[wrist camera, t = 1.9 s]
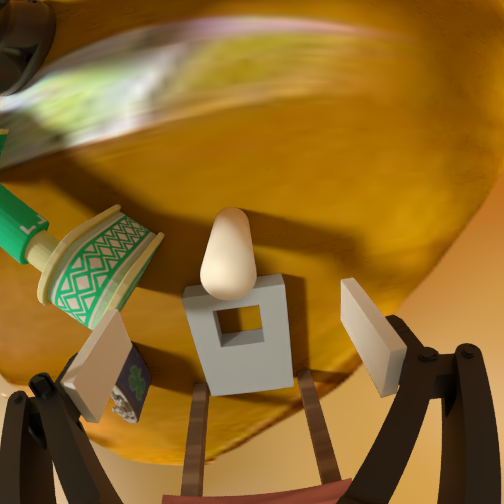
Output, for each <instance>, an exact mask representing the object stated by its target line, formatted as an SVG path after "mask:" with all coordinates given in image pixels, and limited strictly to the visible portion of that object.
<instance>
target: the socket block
mask: <svg viewBox="0 0 504 504" xmlns="http://www.w3.org/2000/svg"><path fill="white" fill-rule="evenodd" d="M182 301H183V305H184V308H185V312H186V315H187V319H188V322H189V326H190V329H191V333H192V336H193V339H194V343H195V346H196V349H197V352H198V355H199V359H200V362H201V365H202V368H203V371H204V374H205V377H206V380H207V383H208V386H209V389H210V392H211V395H212V396H219V395H230V394H240V393H249V392H257V391H265V390H272V389H279V388H285V387H292V386H293V372H292V360H291V348H290V336H289V325H288V314H287V303H286V293H285V284H284V281H283V277H282V274H281V273H279V274H273V275H266V276H259V277H257V278H256V282H255V285H254V287H253V289H252V290H251V291H250V292H249V293H248V294H247V295H246V296H244V297H242V298H240V299H237V300H230V301H227V300H221V299H218V298H215V297H214V296H212V295H211V294H209V293H208V292H207V291H206V289H205V288H204V287H203V285H202V284H201V285H194V286H186V287H185V290H184V293H183V296H182ZM254 305H259V307H260V313H261V320H262V327H263V329H256V330H249V331H241V332H233V333H225V334H222V332H221V328H220V324H219V320H218V315H217V311H216V310H224V309H232V308H239V307H246V306H254Z"/></svg>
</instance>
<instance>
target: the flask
mask: <svg viewBox="0 0 504 504" xmlns="http://www.w3.org/2000/svg"><path fill="white" fill-rule="evenodd" d="M150 384H151V375H150V371H149V369H148V367H147V364H146V363H145V362H144V359H143V358H142V356H141V354H140V353H139V351H138V349H137V348H136V346H134V344H133V343H132V348H131V350H130V352H129V354H128V356H127V359H126V361H125V363H124V365H123V367H122V370H121V372H120V374H119V376H118V379H117V381H116V383H115V386H114V388H113V390H112V393H111V395H110V396H111V397H112V399H113V400H114V402H115V403H116V405H115V407H116V408H114V407H113V408H112V410H113V413H115V411H117V412H118V414H119V415H120V416H122V417H123V419H124V420H125V421H127V422H129V423H137V422H138V421H139V417H140V414H141V410H142V407H143V404H144V401H145V398H146V395H147V392H148V388H149V386H150Z"/></svg>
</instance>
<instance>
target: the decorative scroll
mask: <svg viewBox="0 0 504 504" xmlns="http://www.w3.org/2000/svg"><path fill="white" fill-rule="evenodd" d="M8 131H9V130H8V129H7V128H2V129H0V154H1V151H2V148H3V145H4V142H5V139H6V136H7V134H8ZM120 209H121V206H120V205H118V204H116V205H114V206H112V207H111V208H109V209H107V210H105V211H103V212H102V213H100V214H98V215H97V216H95V217H93V218H91V219H90V220H88V221H86V222H85V223H83V224H81V225H80V226H78V227H76V228H75V229H73V230H72V231H71V232H70V233H68V234H67V235H66V237H65V238H64V239H63V240H62V241H59V240H58V239H57V238H55V237H54V236H53V235H51V234H50V233H49V232H47V229H48V226H49V222H48V221H47V220H45V219H44V218H43V217H42V216H40V215H39V214H38V213H36V212H35V211H34V210H32V209H31V208H30V207H29V206H27V205H26V204H25V203H23V202H22V201H21V200H20V199H18V198H17V197H16V196H15V195H13V194H12V193H11V192H10V191H9V190H7V189H6V188H5V187H4V186H3V185H1V184H0V247H2V248H3V249H4V250H5V251H6V252H7V253H8V254H10V255H11V256H12V257H13V258H14V259H16V260H17V261H18V262H19V263H20V264H22V265H25V264H28V263H31V264H32V265H33V266H35V267H36V268H37V269H38V270H40V271H41V272H42V275H41V278H40V281H39V284H38V291H37V295H38V300H39V301H40V302H41V303H42V304H43V305H50V304H52V303H53V304H54V305H56V306H57V307H58V308H60V309H61V310H63V311H64V312H66V313H67V314H68V315H70V316H71V317H73V318H74V319H76V320H77V321H79V322H80V323H82V324H83V325H85V326H86V327H88V328H89V329H91V330H92V331H93V330H94V329H95V328H96V326H97V325H98V323H99V322H100V320H101V319H102V317H103V316H104V315H105V313H106V312H107V310H113V309H118V310H119V313H120V312H121V310H122V308H123V307H124V305H125V304H126V302H127V300H128V299H129V297H130V296H131V294H132V292H133V291H134V289H135V288H136V286H137V284H138V282H139V281H140V279H141V277H142V275H143V273H144V271H145V270H146V268H147V266H148V264H149V262H150V261H151V259H152V257H153V255H154V253H155V252H156V250H157V248H158V246H159V245H160V243H161V241H162V240H163V238H164V236H165V234H164V233H162V232H159V233H158V235H156V234H154V233H153V232H151V231H149V230H148V229H146V228H145V227H143V226H142V225H140V224H139V223H137V222H135V221H134V220H132V219H131V218H129V217H128V216H126V215H125V214H123V213H121V212H120Z"/></svg>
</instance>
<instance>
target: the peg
mask: <svg viewBox="0 0 504 504" xmlns="http://www.w3.org/2000/svg"><path fill="white" fill-rule="evenodd" d="M200 278H201V282H202V285H203V287H204V288H205V289H206V291H207V292H208V293H209V294H211V295H212V296H214V297H215V298H218V299H221V300H227V301H230V300H237V299H240V298H242V297H244V296H246V295H247V294H248V293H249V292H250V291H251V290H252V289H253V287H254V285H255V282H256V278H257V273H256V266H255V259H254V252H253V245H252V239H251V232H250V225H249V220H248V217H247V215H246V214H245V213H244V212H243V211H242V210H240V209H238V208H235V207H229V208H225V209H223V210H221V211H220V212H219V213H218V214H217V216H216V218H215V221H214V225H213V228H212V231H211V235H210V238H209V242H208V245H207V249H206V253H205V256H204V260H203V263H202V267H201V272H200Z"/></svg>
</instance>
